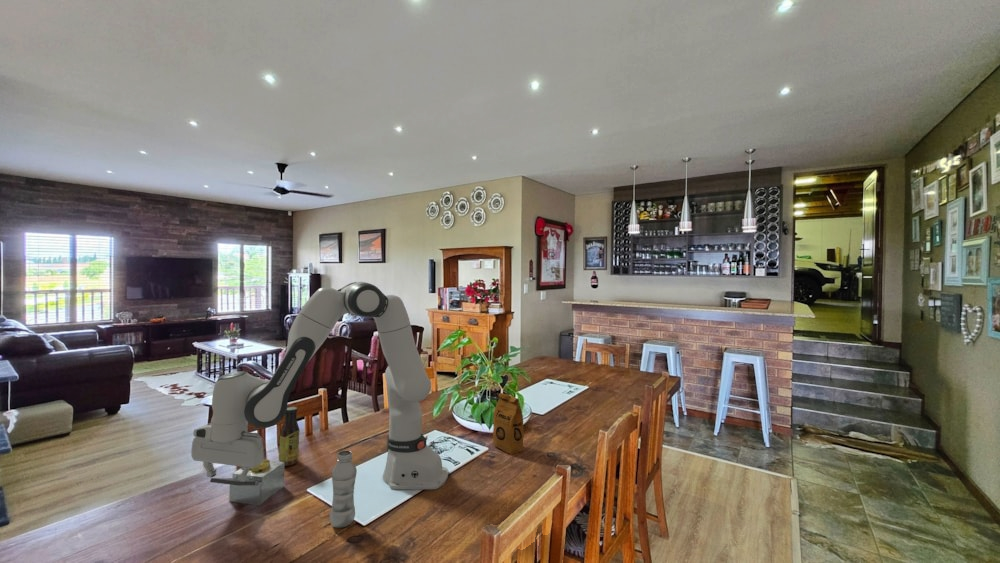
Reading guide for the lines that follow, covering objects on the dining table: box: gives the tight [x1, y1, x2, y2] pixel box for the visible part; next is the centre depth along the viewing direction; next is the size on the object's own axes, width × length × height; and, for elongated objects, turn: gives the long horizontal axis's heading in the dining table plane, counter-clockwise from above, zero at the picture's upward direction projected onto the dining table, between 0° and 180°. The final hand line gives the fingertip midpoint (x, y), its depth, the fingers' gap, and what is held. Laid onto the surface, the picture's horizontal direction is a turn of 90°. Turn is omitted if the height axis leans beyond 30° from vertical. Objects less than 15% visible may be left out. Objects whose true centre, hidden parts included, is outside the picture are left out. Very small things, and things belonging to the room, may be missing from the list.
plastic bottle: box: [329, 450, 358, 529], centre depth 114 cm, size 6×7×20 cm
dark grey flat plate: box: [209, 477, 258, 486], centre depth 118 cm, size 9×8×1 cm
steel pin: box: [250, 458, 271, 472], centre depth 128 cm, size 5×5×9 cm
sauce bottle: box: [278, 406, 301, 467], centre depth 148 cm, size 7×6×20 cm
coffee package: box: [492, 392, 525, 456], centre depth 167 cm, size 10×12×22 cm
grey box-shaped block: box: [228, 459, 285, 506], centre depth 127 cm, size 10×11×8 cm
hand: (226, 478), depth 115 cm, fingers open, 8 cm apart
